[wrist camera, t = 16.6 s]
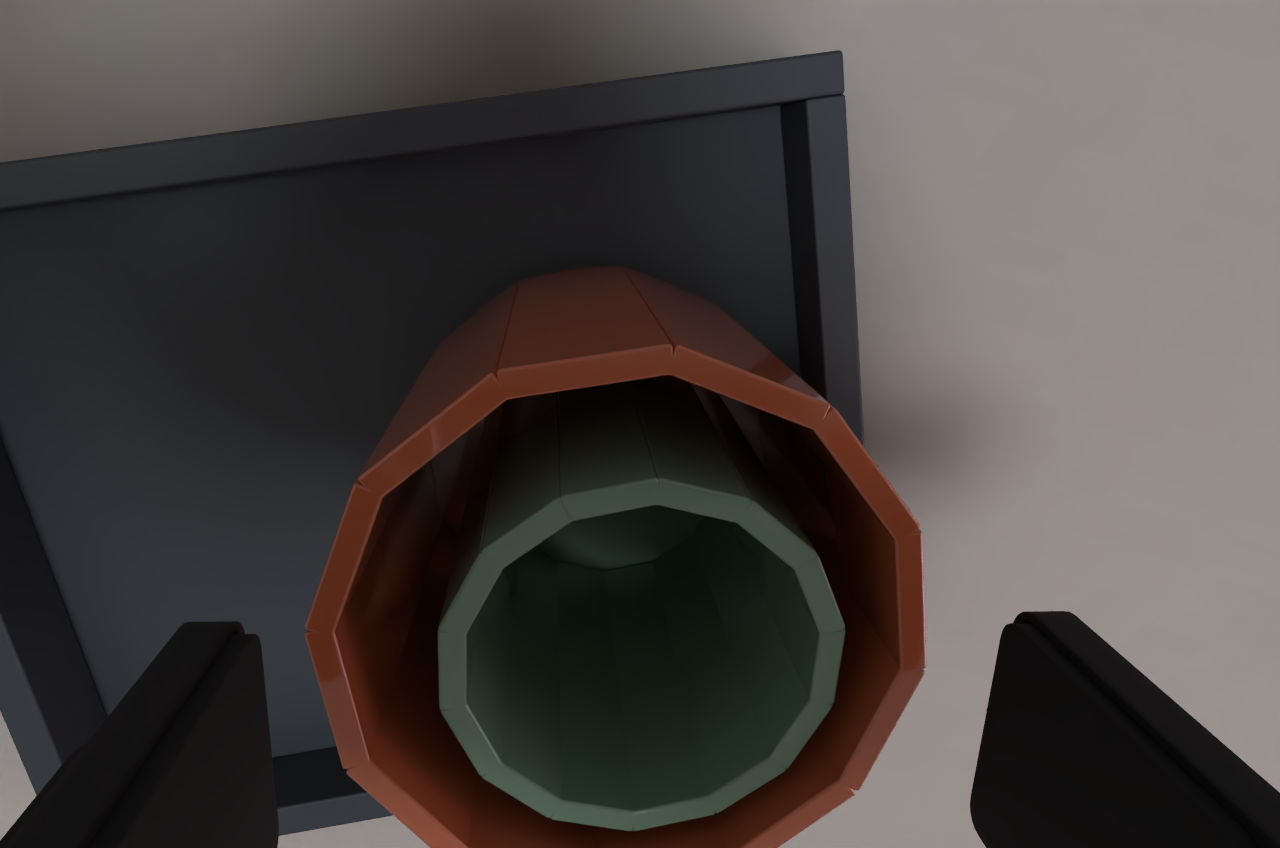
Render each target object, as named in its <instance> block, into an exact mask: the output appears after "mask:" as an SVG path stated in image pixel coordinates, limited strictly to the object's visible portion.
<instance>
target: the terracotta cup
mask: <svg viewBox="0 0 1280 848" xmlns="http://www.w3.org/2000/svg"><path fill="white" fill-rule="evenodd" d="M666 375H671V376H674V377H676V378H679V379H682V380H684V381H687V382H689V383H692V384H695V385H697V386H700V387H702V388H705V389H708V390H710V391H713V392H715V393H718V394H719V395H720V397H721V398H722V400H723V401H724V403H725V405H726V406H727V408H728V409H729V411H730V413H731V414H732V416H733V418H734V419H735V421H736V422H737V424H738V426H739V427H740V429H741V430H742V432H743V434H744V435H745V437H746V439H747V440H748V442H749V443H750V445H751V447H752V448H753V450H754V451H755V453H756V455H757V456H758V458H759V460H760V461H761V463H762V464H763V466H764V468H765V469H766V471H767V472H768V474H769V476H770V477H771V479H772V481H773V482H774V484H775V485H776V487H777V489H778V490H779V492H780V493H781V495H782V497H783V498H784V500H785V502H786V503H787V505H788V506H789V508H790V510H791V511H792V513H793V514H794V516H795V518H796V519H797V521H798V523H799V524H800V526H801V527H802V529H803V531H804V532H805V534H806V535H807V537H808V539H809V540H810V542H811V544H812V545H813V547H814V548H815V550H816V552H817V553H818V555H819V557H820V559H821V562H822V565H823V567H824V570H825V572H826V575H827V578H828V580H829V583H830V586H831V588H832V591H833V594H834V596H835V599H836V602H837V604H838V607H839V609H840V612H841V615H842V617H843V620H844V623H845V629H846V632H845V638H844V644H843V651H842V657H841V663H840V669H839V675H838V682H837V688H836V694H835V700H834V704H833V706H832V708H831V710H830V711H829V712H828V714H827V715H826V717H825V718H824V719H823V721H822V722H821V724H820V725H819V726H818V728H817V729H816V731H815V732H814V733H813V735H812V736H811V738H810V739H809V740H808V742H807V743H806V745H805V746H804V747H803V749H802V750H801V752H800V753H799V754H798V756H797V757H796V759H795V760H794V761H793V763H792V764H791V766H790V767H789V768H788V769H786V771H785V772H784V773H782V774H780V775H779V776H777V777H776V778H774V779H772V780H771V781H769V782H768V783H766V784H764V785H763V786H761V787H760V788H758V789H756V790H755V791H753V792H752V793H750V794H749V795H747V796H745V797H744V798H742V799H741V800H739V801H737V802H736V803H734V804H733V805H731V806H729V807H728V808H726V809H725V810H723V811H721V812H720V813H715V815H712V816H707V817H703V818H698V819H693V820H688V821H683V822H679V823H674V824H669V825H664V826H659V827H655V828H650V829H645V830H640V831H631V832H629V831H623V830H616V829H609V828H603V827H596V826H590V825H583V824H577V823H570V822H563V821H557V820H552V819H551V818H547V817H545V816H543V815H542V814H540V813H538V812H537V811H535V810H533V809H532V808H530V807H529V806H527V805H525V804H524V803H522V802H520V801H519V800H517V799H515V798H514V797H512V796H511V795H509V794H507V793H506V792H504V791H502V790H501V789H499V788H497V787H496V786H494V785H493V784H491V783H489V782H488V781H486V780H484V779H483V778H482V776H480V775H479V774H478V772H477V770H476V769H475V767H474V766H473V764H472V762H471V761H470V759H469V757H468V756H467V754H466V753H465V751H464V749H463V748H462V746H461V744H460V743H459V741H458V740H457V738H456V736H455V735H454V733H453V731H452V730H451V728H450V727H449V725H448V723H447V722H446V720H445V718H444V717H443V715H442V714H441V712H440V708H439V690H438V643H437V631H438V626H439V622H440V617H441V613H442V608H443V604H444V599H445V594H446V590H447V585H448V581H449V576H450V572H451V567H452V563H453V558H454V554H455V549H456V545H457V540H458V535H459V531H460V526H461V522H462V517H463V513H464V508H465V504H466V499H467V495H468V490H469V486H470V481H471V476H472V472H473V467H474V463H475V458H476V454H477V449H478V445H479V441H480V437H481V435H482V433H483V431H484V429H485V428H486V425H487V422H488V420H489V417H490V415H491V413H492V412H493V411H494V410H495V409H497V408H498V407H499V406H500V405H502V404H503V403H504V402H506V401H507V400H509V399H515V398H522V397H528V396H535V395H541V394H548V393H554V392H561V391H568V390H574V389H581V388H587V387H594V386H600V385H607V384H614V383H620V382H627V381H633V380H640V379H646V378H653V377H660V376H666ZM919 528H920V526H919V523H918V522H917V520H916V519H915V518H914V516H913V515H912V513H911V512H910V511H909V509H908V508H907V506H906V505H905V504H904V502H903V501H902V500H901V498H900V497H899V495H898V494H897V493H896V491H895V490H894V488H893V487H892V486H891V484H890V483H889V482H888V480H887V479H886V477H885V476H884V475H883V473H882V472H881V470H880V469H879V468H878V466H877V465H876V464H875V462H874V461H873V459H872V458H871V457H870V455H869V454H868V452H867V451H866V450H865V448H864V447H863V446H862V444H861V443H860V441H859V440H858V439H857V437H856V436H855V434H854V433H853V432H852V430H851V429H850V428H849V426H848V425H847V423H846V422H845V421H844V419H843V418H842V416H841V415H840V414H839V412H838V411H837V410H836V409H835V408H834V407H833V406H832V405H831V404H830V403H829V402H827V401H826V400H825V399H824V398H823V397H822V396H821V395H819V394H818V393H817V392H816V391H815V390H814V389H813V388H811V387H810V386H809V385H808V384H807V383H806V382H805V381H804V380H802V379H801V378H800V377H799V376H798V375H797V374H796V373H794V372H793V371H792V370H791V369H790V368H789V367H788V366H786V365H785V364H784V363H783V362H782V361H781V360H780V359H778V358H777V357H776V356H775V355H774V354H773V353H772V352H770V351H769V350H768V349H767V348H766V347H765V346H764V345H763V344H761V343H760V342H759V341H758V340H757V339H756V338H755V337H753V336H752V335H751V334H750V333H749V332H748V331H747V330H745V329H744V328H743V327H742V326H741V325H740V324H739V323H737V322H736V321H735V320H734V319H733V318H732V317H731V316H730V315H728V314H727V313H726V312H725V311H724V310H723V309H722V308H720V307H719V306H718V305H717V304H715V303H714V302H713V301H711V300H708V299H706V298H703V297H701V296H699V295H696V294H694V293H691V292H689V291H687V290H685V289H683V288H681V287H679V286H677V285H675V284H673V283H671V282H669V281H667V280H664V279H661V278H658V277H655V276H652V275H649V274H646V273H643V272H640V271H637V270H635V269H632V268H630V267H627V266H623V267H621V266H620V265H614V266H607V267H582V268H570V269H565V270H560V271H555V272H551V273H546V274H543V275H540V276H537V277H531V278H524V279H521V280H520V282H518V281H516V282H514V283H513V284H512V285H511V286H509V287H508V288H507V289H506V290H505V291H503V292H502V293H500V294H498V295H497V296H496V297H494V298H493V299H491V300H490V301H488V302H487V303H486V304H484V305H483V306H481V307H480V308H479V309H478V310H477V311H476V312H475V313H473V314H472V315H471V316H470V317H469V318H468V319H467V320H466V321H465V322H464V323H463V324H462V325H461V326H460V327H458V328H457V329H456V330H455V331H453V332H452V333H451V334H450V335H448V336H447V337H446V338H445V339H443V340H442V341H441V342H440V344H439V346H438V347H437V348H436V350H435V351H434V353H433V355H432V356H431V358H430V359H429V361H428V363H427V364H426V366H425V368H424V369H423V371H422V373H421V374H420V376H419V377H418V379H417V381H416V382H415V384H414V386H413V387H412V389H411V391H410V392H409V394H408V396H407V397H406V399H405V400H404V402H403V404H402V405H401V407H400V409H399V410H398V412H397V414H396V415H395V417H394V418H393V420H392V422H391V423H390V425H389V427H388V428H387V430H386V432H385V433H384V435H383V437H382V438H381V440H380V441H379V443H378V445H377V446H376V448H375V450H374V451H373V453H372V455H371V456H370V458H369V459H368V461H367V463H366V464H365V466H364V468H363V469H362V471H361V473H360V474H359V476H358V478H357V479H356V481H355V482H354V484H353V486H352V489H351V492H350V495H349V498H348V501H347V504H346V507H345V510H344V512H343V515H342V518H341V521H340V524H339V527H338V530H337V533H336V536H335V539H334V542H333V544H332V547H331V550H330V553H329V556H328V559H327V562H326V565H325V568H324V571H323V574H322V576H321V579H320V582H319V585H318V588H317V591H316V594H315V597H314V600H313V603H312V606H311V608H310V611H309V614H308V617H307V620H306V623H305V629H306V631H305V638H306V642H307V645H308V649H309V652H310V656H311V659H312V663H313V666H314V670H315V673H316V676H317V680H318V683H319V687H320V690H321V694H322V697H323V701H324V704H325V708H326V711H327V715H328V718H329V722H330V725H331V729H332V732H333V736H334V739H335V743H336V746H337V750H338V753H339V757H340V760H341V763H342V767H343V768H344V769H347V771H346V773H347V775H348V776H350V777H351V778H352V779H353V780H354V781H355V782H356V783H357V784H359V785H360V786H361V787H362V788H363V789H364V790H365V791H367V792H368V793H369V794H370V795H371V796H372V797H373V798H375V799H376V800H377V801H378V802H379V803H380V804H381V805H383V806H384V807H385V808H386V809H387V810H388V811H389V812H390V813H392V814H393V815H394V816H395V817H396V818H397V819H398V820H400V821H401V822H402V823H403V824H404V825H405V826H406V827H408V828H409V829H410V830H411V831H412V832H413V833H414V834H415V835H417V836H418V837H419V838H420V839H421V840H422V841H423V842H425V843H426V844H427V845H428V846H429V847H430V848H778V847H779V846H781V845H782V844H784V843H785V842H787V841H788V840H789V839H791V838H792V837H794V836H795V835H797V834H798V833H800V832H801V831H803V830H804V829H806V828H807V827H808V826H810V825H811V824H813V823H814V822H816V821H817V820H819V819H820V818H822V817H823V816H825V815H826V814H827V813H829V812H830V811H832V810H833V809H835V808H836V807H838V806H839V805H841V804H842V803H844V802H845V801H846V800H848V799H849V798H851V797H852V796H854V795H855V790H859V789H860V788H861V786H862V784H863V783H864V781H865V779H866V777H867V775H868V774H869V772H870V770H871V768H872V766H873V765H874V763H875V761H876V759H877V758H878V756H879V754H880V752H881V750H882V749H883V747H884V745H885V743H886V741H887V740H888V738H889V736H890V734H891V732H892V731H893V729H894V727H895V725H896V723H897V722H898V720H899V718H900V716H901V715H902V713H903V711H904V709H905V707H906V706H907V704H908V702H909V700H910V698H911V697H912V695H913V693H914V691H915V689H916V688H917V686H918V684H919V682H920V681H921V679H922V677H923V675H924V670H923V668H925V667H926V640H925V608H924V577H923V545H922V532H921V530H920V529H919Z"/></svg>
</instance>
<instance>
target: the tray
mask: <svg viewBox="0 0 1280 848" xmlns="http://www.w3.org/2000/svg"><path fill="white" fill-rule="evenodd" d="M843 93H844V74H843V55H842V52H841V51H839V50H838V51H831V52H823V53H816V54H808V55H801V56H793V57H786V58H778V59H771V60H763V61H756V62H748V63H741V64H734V65H726V66H719V67H711V68H704V69H696V70H689V71H681V72H674V73H666V74H659V75H651V76H644V77H637V78H629V79H622V80H614V81H607V82H599V83H592V84H584V85H577V86H569V87H562V88H554V89H547V90H539V91H532V92H525V93H517V94H510V95H502V96H495V97H487V98H480V99H472V100H465V101H457V102H450V103H442V104H435V105H428V106H420V107H413V108H405V109H398V110H390V111H383V112H375V113H368V114H360V115H353V116H345V117H338V118H330V119H323V120H316V121H308V122H301V123H293V124H286V125H278V126H271V127H263V128H256V129H248V130H241V131H233V132H226V133H219V134H211V135H204V136H196V137H189V138H181V139H174V140H166V141H159V142H151V143H144V144H136V145H129V146H121V147H114V148H107V149H99V150H92V151H84V152H77V153H69V154H62V155H54V156H47V157H39V158H32V159H24V160H17V161H10V162H2V163H0V710H1V713H2V715H3V717H4V720H5V722H6V724H7V727H8V729H9V732H10V734H11V736H12V739H13V741H14V743H15V746H16V748H17V750H18V753H19V755H20V757H21V760H22V762H23V764H24V767H25V769H26V771H27V774H28V776H29V778H30V781H31V783H32V785H33V788H34V790H35V793H36V795H38V794H39V793H40V791H41V790H42V789H43V788H44V786H45V785H46V784H47V783H48V781H49V780H50V779H51V778H52V776H53V775H54V774H55V773H56V772H57V770H58V769H59V768H60V767H61V765H62V764H63V763H64V762H65V760H66V759H67V758H68V757H69V756H70V755H71V754H72V753H73V752H74V751H75V750H76V749H77V748H78V747H80V746H83V745H86V744H87V742H88V741H89V740H90V739H91V737H92V736H93V735H94V734H95V732H96V731H97V730H98V729H99V727H100V726H101V725H102V724H103V722H104V721H105V720H106V719H107V717H108V716H109V715H110V714H111V712H112V711H113V710H114V708H115V707H116V706H117V705H118V703H119V702H120V701H121V700H122V698H123V697H124V696H125V695H126V693H127V692H128V691H129V690H130V688H131V687H132V686H133V685H134V683H135V682H136V681H137V680H138V678H139V677H140V676H141V675H142V673H143V672H144V671H145V670H146V668H147V667H148V666H149V665H150V663H151V662H152V661H153V660H154V658H155V657H156V656H157V655H158V653H159V652H160V651H161V650H162V648H163V647H164V646H165V645H166V643H167V642H168V641H169V640H170V638H171V637H172V636H173V635H174V633H175V632H176V631H177V630H178V628H179V627H180V626H181V625H182V624H183V623H185V622H217V621H238V622H240V623H241V624H242V626H243V628H244V631H245V634H257V635H258V636H259V639H260V642H261V648H262V658H263V668H264V678H265V689H266V699H267V709H268V719H269V730H270V740H271V750H272V760H273V770H274V781H275V791H276V801H277V811H278V822H279V836H280V835H286V834H291V833H297V832H303V831H308V830H314V829H319V828H325V827H330V826H336V825H342V824H347V823H353V822H358V821H364V820H370V819H375V818H381V817H386V816H392V815H393V814H392V813H390V812H389V811H388V810H387V809H386V808H385V807H384V806H383V805H381V804H380V803H379V802H378V801H377V800H376V799H375V798H373V797H372V796H371V795H370V794H369V793H368V792H367V791H365V790H364V789H363V788H362V787H361V786H360V785H359V784H357V783H356V782H355V781H354V780H353V779H352V778H351V777H350V776H348V775H347V773H346V771H347V769H344V768H343V767H342V763H341V760H340V757H339V753H338V750H337V746H336V743H335V739H334V736H333V732H332V729H331V725H330V722H329V718H328V715H327V711H326V708H325V704H324V701H323V697H322V694H321V690H320V687H319V683H318V680H317V676H316V673H315V670H314V666H313V663H312V659H311V656H310V652H309V649H308V645H307V642H306V638H305V631H306V629H305V623H306V620H307V617H308V614H309V611H310V608H311V606H312V603H313V600H314V597H315V594H316V591H317V588H318V585H319V582H320V579H321V576H322V574H323V571H324V568H325V565H326V562H327V559H328V556H329V553H330V550H331V547H332V544H333V542H334V539H335V536H336V533H337V530H338V527H339V524H340V521H341V518H342V515H343V512H344V510H345V507H346V504H347V501H348V498H349V495H350V492H351V489H352V486H353V484H354V482H355V481H356V479H357V478H358V476H359V474H360V473H361V471H362V469H363V468H364V466H365V464H366V463H367V461H368V459H369V458H370V456H371V455H372V453H373V451H374V450H375V448H376V446H377V445H378V443H379V441H380V440H381V438H382V437H383V435H384V433H385V432H386V430H387V428H388V427H389V425H390V423H391V422H392V420H393V418H394V417H395V415H396V414H397V412H398V410H399V409H400V407H401V405H402V404H403V402H404V400H405V399H406V397H407V396H408V394H409V392H410V391H411V389H412V387H413V386H414V384H415V382H416V381H417V379H418V377H419V376H420V374H421V373H422V371H423V369H424V368H425V366H426V364H427V363H428V361H429V359H430V358H431V356H432V355H433V353H434V351H435V350H436V348H437V347H438V346H439V344H440V342H441V341H442V340H443V339H445V338H446V337H447V336H448V335H450V334H451V333H452V332H453V331H455V330H456V329H457V328H458V327H460V326H461V325H462V324H463V323H464V322H465V321H466V320H467V319H468V318H469V317H470V316H471V315H472V314H473V313H475V312H476V311H477V310H478V309H479V308H480V307H481V306H483V305H484V304H486V303H487V302H488V301H490V300H491V299H493V298H494V297H496V296H497V295H498V294H500V293H502V292H503V291H505V290H506V289H507V288H508V287H509V286H511V285H512V284H513V283H514V282H516V281H518V282H520V280H521V279H524V278H531V277H537V276H540V275H543V274H546V273H551V272H555V271H560V270H565V269H570V268H582V267H607V266H614V265H620V266H621V267H623V266H627V267H630V268H632V269H635V270H637V271H640V272H643V273H646V274H649V275H652V276H655V277H658V278H661V279H664V280H667V281H669V282H671V283H673V284H675V285H677V286H679V287H681V288H683V289H685V290H687V291H689V292H691V293H694V294H696V295H699V296H701V297H703V298H706V299H708V300H711V301H713V302H714V303H715V304H717V305H718V306H719V307H720V308H722V309H723V310H724V311H725V312H726V313H727V314H728V315H730V316H731V317H732V318H733V319H734V320H735V321H736V322H737V323H739V324H740V325H741V326H742V327H743V328H744V329H745V330H747V331H748V332H749V333H750V334H751V335H752V336H753V337H755V338H756V339H757V340H758V341H759V342H760V343H761V344H763V345H764V346H765V347H766V348H767V349H768V350H769V351H770V352H772V353H773V354H774V355H775V356H776V357H777V358H778V359H780V360H781V361H782V362H783V363H784V364H785V365H786V366H788V367H789V368H790V369H791V370H792V371H793V372H794V373H796V374H797V375H798V376H799V377H800V378H801V379H802V380H804V381H805V382H806V383H807V384H808V385H809V386H810V387H811V388H813V389H814V390H815V391H816V392H817V393H818V394H819V395H821V396H822V397H823V398H824V399H825V400H826V401H827V402H829V403H830V404H831V405H832V406H833V407H834V408H835V409H836V410H837V411H838V412H839V414H840V415H841V416H842V418H843V419H844V421H845V422H846V423H847V425H848V426H849V428H850V429H851V430H852V432H853V433H854V434H855V436H856V437H857V439H858V440H859V441H860V443H861V444H862V446H863V447H864V436H863V418H862V399H861V381H860V363H859V344H858V326H857V308H856V289H855V271H854V252H853V234H852V216H851V197H850V179H849V160H848V142H847V124H846V105H845V96H844V95H842V94H843Z"/></svg>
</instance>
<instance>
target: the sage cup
mask: <svg viewBox="0 0 1280 848" xmlns="http://www.w3.org/2000/svg"><path fill="white" fill-rule="evenodd" d="M845 632H846V629H845V623H844V620H843V617H842V615H841V612H840V609H839V607H838V604H837V602H836V599H835V596H834V594H833V591H832V588H831V586H830V583H829V580H828V578H827V575H826V572H825V570H824V567H823V565H822V562H821V559H820V557H819V555H818V553H817V552H816V550H815V548H814V547H813V545H812V544H811V542H810V540H809V539H808V537H807V535H806V534H805V532H804V531H803V529H802V527H801V526H800V524H799V523H798V521H797V519H796V518H795V516H794V514H793V513H792V511H791V510H790V508H789V506H788V505H787V503H786V502H785V500H784V498H783V497H782V495H781V493H780V492H779V490H778V489H777V487H776V485H775V484H774V482H773V481H772V479H771V477H770V476H769V474H768V472H767V471H766V469H765V468H764V466H763V464H762V463H761V461H760V460H759V458H758V456H757V455H756V453H755V451H754V450H753V448H752V447H751V445H750V443H749V442H748V440H747V439H746V437H745V435H744V434H743V432H742V430H741V429H740V427H739V426H738V424H737V422H736V421H735V419H734V418H733V416H732V414H731V413H730V411H729V409H728V408H727V406H726V405H725V403H724V401H723V400H722V398H721V397H720V395H719V394H718V393H715V392H713V391H710V390H708V389H705V388H702V387H700V386H697V385H695V384H692V383H689V382H687V381H684V380H682V379H679V378H676V377H674V376H671V375H666V376H660V377H653V378H646V379H640V380H633V381H627V382H620V383H614V384H607V385H600V386H594V387H587V388H581V389H574V390H568V391H561V392H554V393H548V394H541V395H535V396H528V397H522V398H515V399H509V400H507V401H506V402H504V403H503V404H502V405H500V406H499V407H498V408H497V409H495V410H494V411H493V412H492V413H491V415H490V417H489V420H488V422H487V425H486V428H485V429H484V431H483V433H482V435H481V437H480V441H479V445H478V449H477V454H476V458H475V463H474V467H473V472H472V476H471V481H470V486H469V490H468V495H467V499H466V504H465V508H464V513H463V517H462V522H461V526H460V531H459V535H458V540H457V545H456V549H455V554H454V558H453V563H452V567H451V572H450V576H449V581H448V585H447V590H446V594H445V599H444V604H443V608H442V613H441V617H440V622H439V626H438V631H437V643H438V690H439V708H440V712H441V714H442V715H443V717H444V718H445V720H446V722H447V723H448V725H449V727H450V728H451V730H452V731H453V733H454V735H455V736H456V738H457V740H458V741H459V743H460V744H461V746H462V748H463V749H464V751H465V753H466V754H467V756H468V757H469V759H470V761H471V762H472V764H473V766H474V767H475V769H476V770H477V772H478V774H479V775H480V776H482V778H483V779H484V780H486V781H488V782H489V783H491V784H493V785H494V786H496V787H497V788H499V789H501V790H502V791H504V792H506V793H507V794H509V795H511V796H512V797H514V798H515V799H517V800H519V801H520V802H522V803H524V804H525V805H527V806H529V807H530V808H532V809H533V810H535V811H537V812H538V813H540V814H542V815H543V816H545V817H547V818H551V819H552V820H557V821H563V822H570V823H577V824H583V825H590V826H596V827H603V828H609V829H616V830H623V831H629V832H631V831H640V830H645V829H650V828H655V827H659V826H664V825H669V824H674V823H679V822H683V821H688V820H693V819H698V818H703V817H707V816H712V815H715V813H720V812H721V811H723V810H725V809H726V808H728V807H729V806H731V805H733V804H734V803H736V802H737V801H739V800H741V799H742V798H744V797H745V796H747V795H749V794H750V793H752V792H753V791H755V790H756V789H758V788H760V787H761V786H763V785H764V784H766V783H768V782H769V781H771V780H772V779H774V778H776V777H777V776H779V775H780V774H782V773H784V772H785V771H786V769H788V768H789V767H790V766H791V764H792V763H793V761H794V760H795V759H796V757H797V756H798V754H799V753H800V752H801V750H802V749H803V747H804V746H805V745H806V743H807V742H808V740H809V739H810V738H811V736H812V735H813V733H814V732H815V731H816V729H817V728H818V726H819V725H820V724H821V722H822V721H823V719H824V718H825V717H826V715H827V714H828V712H829V711H830V710H831V708H832V706H833V704H834V700H835V694H836V688H837V682H838V675H839V669H840V663H841V657H842V651H843V644H844V638H845Z"/></svg>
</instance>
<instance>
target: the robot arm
mask: <svg viewBox="0 0 1280 848" xmlns="http://www.w3.org/2000/svg"><path fill="white" fill-rule="evenodd" d="M970 811H971V817H972V821H973V824H974V827H975V830H976V831H977V833H978V835H979V837H980V838H981V840H982V842H983V843H984V845H985V846H986V848H1280V793H1279V792H1278V791H1277V790H1276V789H1275V788H1273V787H1272V786H1271V785H1270V784H1269V783H1268V782H1267V781H1265V780H1264V779H1263V778H1262V777H1261V776H1260V775H1258V774H1257V773H1256V772H1255V771H1254V770H1253V769H1252V768H1250V767H1249V766H1248V765H1247V764H1246V763H1245V762H1244V761H1242V760H1241V759H1240V758H1239V757H1238V756H1237V755H1235V754H1234V753H1233V752H1232V751H1231V750H1230V749H1229V748H1227V747H1226V746H1225V745H1224V744H1223V743H1222V742H1221V741H1219V740H1218V739H1217V738H1216V737H1215V736H1214V735H1212V734H1211V733H1210V732H1209V731H1208V730H1207V729H1206V728H1204V727H1203V726H1202V725H1201V724H1200V723H1199V722H1197V721H1196V720H1195V719H1194V718H1193V717H1192V716H1191V715H1189V714H1188V713H1187V712H1186V711H1185V710H1184V709H1183V708H1181V707H1180V706H1179V705H1178V704H1177V703H1176V702H1174V701H1173V700H1172V699H1171V698H1170V697H1169V696H1168V695H1166V694H1165V693H1164V692H1163V691H1162V690H1161V689H1160V688H1158V687H1157V686H1156V685H1155V684H1154V683H1153V682H1151V681H1150V680H1149V679H1148V678H1147V677H1146V676H1145V675H1143V674H1142V673H1141V672H1140V671H1139V670H1138V669H1136V668H1135V667H1134V666H1133V665H1132V664H1131V663H1130V662H1128V661H1127V660H1126V659H1125V658H1124V657H1123V656H1122V655H1120V654H1119V653H1118V652H1117V651H1116V650H1115V649H1113V648H1112V647H1111V646H1110V645H1109V644H1108V643H1107V642H1105V641H1104V640H1103V639H1102V638H1101V637H1100V636H1099V635H1097V634H1096V633H1095V632H1094V631H1093V630H1092V629H1090V628H1089V627H1088V626H1087V625H1086V624H1085V623H1084V622H1082V621H1081V620H1080V619H1079V618H1078V617H1077V616H1075V615H1074V614H1072V613H1070V612H1065V611H1048V612H1022V613H1020V614H1019V615H1018V616H1017V617H1016V619H1015V620H1014V623H1013V624H1008V625H1006V626H1005V627H1004V629H1003V631H1002V634H1001V638H1000V644H999V649H998V654H997V660H996V665H995V670H994V676H993V681H992V686H991V692H990V697H989V702H988V708H987V713H986V719H985V724H984V729H983V735H982V740H981V745H980V751H979V756H978V761H977V767H976V772H975V777H974V783H973V788H972V793H971V800H970ZM278 837H279V822H278V811H277V801H276V791H275V781H274V770H273V760H272V750H271V740H270V730H269V719H268V709H267V699H266V689H265V678H264V668H263V658H262V648H261V642H260V639H259V636H258V635H257V634H245V631H244V628H243V626H242V624H241V623H240V622H238V621H217V622H185V623H183V624H182V625H181V626H180V627H179V628H178V630H177V631H176V632H175V633H174V635H173V636H172V637H171V638H170V640H169V641H168V642H167V643H166V645H165V646H164V647H163V648H162V650H161V651H160V652H159V653H158V655H157V656H156V657H155V658H154V660H153V661H152V662H151V663H150V665H149V666H148V667H147V668H146V670H145V671H144V672H143V673H142V675H141V676H140V677H139V678H138V680H137V681H136V682H135V683H134V685H133V686H132V687H131V688H130V690H129V691H128V692H127V693H126V695H125V696H124V697H123V698H122V700H121V701H120V702H119V703H118V705H117V706H116V707H115V708H114V710H113V711H112V712H111V714H110V715H109V716H108V717H107V719H106V720H105V721H104V722H103V724H102V725H101V726H100V727H99V729H98V730H97V731H96V732H95V734H94V735H93V736H92V737H91V739H90V740H89V741H88V742H87V744H86V745H83V746H80V747H78V748H77V749H76V750H75V751H74V752H73V753H72V754H71V755H70V756H69V757H68V758H67V759H66V760H65V762H64V763H63V764H62V765H61V767H60V768H59V769H58V770H57V772H56V773H55V774H54V775H53V776H52V778H51V779H50V780H49V781H48V783H47V784H46V785H45V786H44V788H43V789H42V790H41V791H40V793H39V794H38V795H37V796H36V797H35V799H34V800H33V801H32V802H31V804H30V805H29V806H28V807H27V809H26V810H25V811H24V812H23V813H22V815H21V816H20V817H19V818H18V820H17V821H16V822H15V823H14V825H13V826H12V827H11V828H10V830H9V831H8V832H7V833H6V834H5V836H4V837H3V838H2V839H1V841H0V848H277V845H278Z"/></svg>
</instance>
